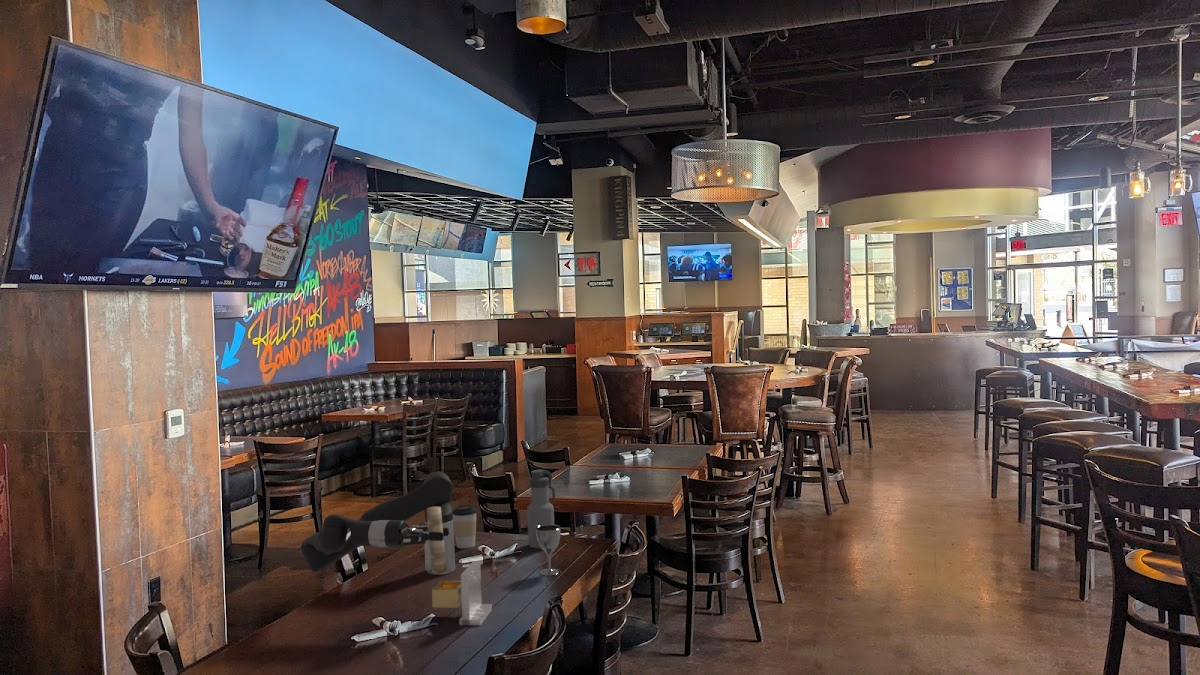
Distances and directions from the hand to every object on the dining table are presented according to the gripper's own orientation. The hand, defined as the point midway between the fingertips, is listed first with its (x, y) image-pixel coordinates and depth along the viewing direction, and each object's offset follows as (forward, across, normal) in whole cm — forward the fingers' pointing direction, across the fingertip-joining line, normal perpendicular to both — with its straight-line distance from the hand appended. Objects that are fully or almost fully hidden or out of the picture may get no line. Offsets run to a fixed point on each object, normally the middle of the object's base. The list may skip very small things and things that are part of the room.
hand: (445, 534), depth 219 cm
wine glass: (+21, -39, -24) cm, 51 cm away
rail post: (-2, 0, -11) cm, 11 cm away
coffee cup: (-17, -69, -24) cm, 75 cm away
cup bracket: (+4, 0, -24) cm, 24 cm away
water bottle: (+12, -70, -24) cm, 75 cm away
